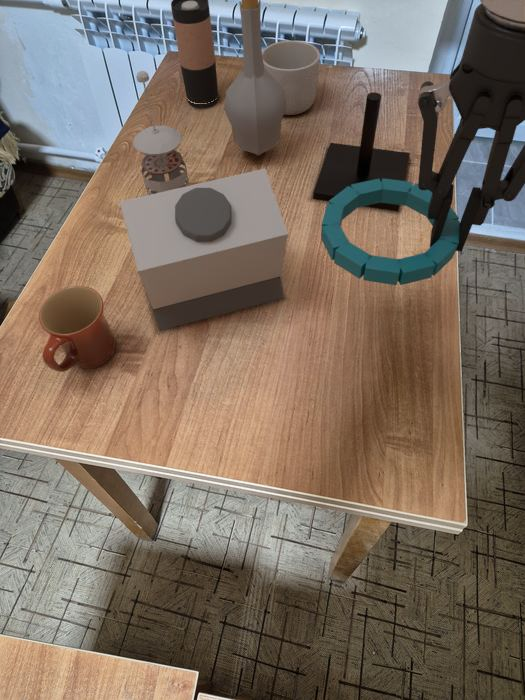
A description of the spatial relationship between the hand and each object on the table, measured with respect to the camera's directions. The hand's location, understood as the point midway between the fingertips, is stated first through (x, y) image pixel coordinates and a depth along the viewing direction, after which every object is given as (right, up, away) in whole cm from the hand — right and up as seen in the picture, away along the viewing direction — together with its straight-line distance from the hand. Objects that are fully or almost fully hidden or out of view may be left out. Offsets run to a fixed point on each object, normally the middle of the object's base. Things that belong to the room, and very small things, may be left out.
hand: (446, 240), depth 58 cm
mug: (-47, -14, +20) cm, 53 cm away
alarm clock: (-29, -2, +27) cm, 40 cm away
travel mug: (-34, +45, +60) cm, 83 cm away
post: (-1, +21, +42) cm, 47 cm away
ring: (-6, +1, +1) cm, 7 cm away
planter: (-15, +43, +57) cm, 73 cm away
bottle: (-22, +28, +48) cm, 59 cm away
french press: (-38, +16, +40) cm, 58 cm away
